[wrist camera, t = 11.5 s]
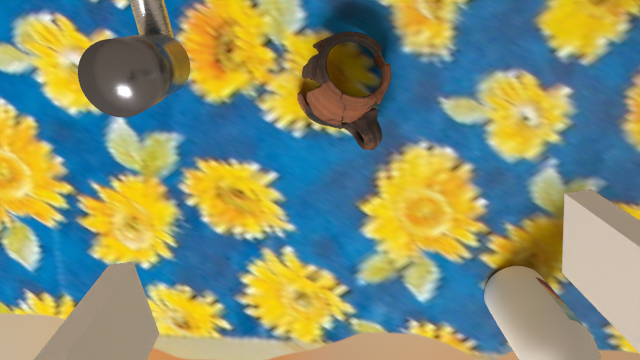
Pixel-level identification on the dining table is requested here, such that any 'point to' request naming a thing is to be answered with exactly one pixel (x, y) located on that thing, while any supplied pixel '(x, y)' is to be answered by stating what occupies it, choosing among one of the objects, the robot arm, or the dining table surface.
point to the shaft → (135, 65)
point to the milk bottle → (536, 318)
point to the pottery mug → (338, 106)
